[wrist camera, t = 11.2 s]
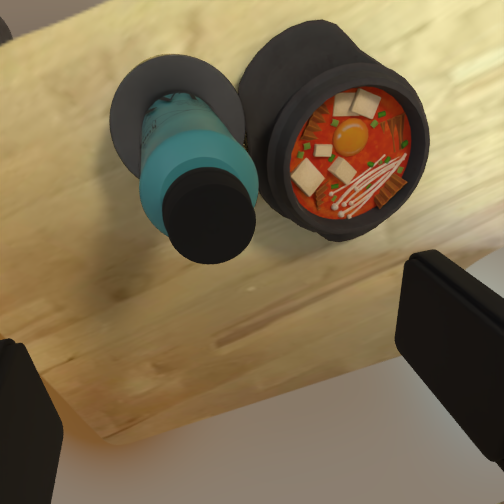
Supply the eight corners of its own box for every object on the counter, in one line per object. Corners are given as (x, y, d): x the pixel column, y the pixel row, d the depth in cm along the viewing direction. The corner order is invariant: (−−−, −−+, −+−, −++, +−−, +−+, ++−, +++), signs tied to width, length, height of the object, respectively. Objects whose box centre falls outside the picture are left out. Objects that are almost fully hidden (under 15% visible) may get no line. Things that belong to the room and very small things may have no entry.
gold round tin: (130, 178, 42) (127, 202, 36) (100, 58, 36) (92, 62, 30) (236, 162, 43) (251, 182, 38) (224, 45, 38) (239, 47, 32)
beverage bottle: (219, 90, 33) (299, 150, 16) (215, 168, 36) (278, 289, 19) (137, 84, 31) (129, 143, 14) (140, 167, 34) (136, 296, 17)
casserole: (430, 178, 50) (477, 201, 43) (308, 262, 52) (335, 299, 45) (347, -25, 38) (395, -39, 30) (190, 97, 39) (200, 111, 32)
